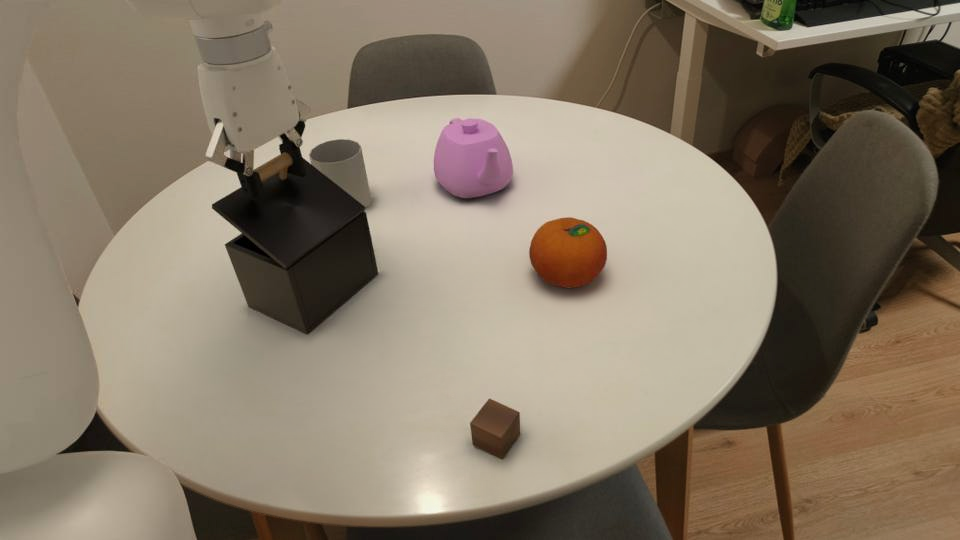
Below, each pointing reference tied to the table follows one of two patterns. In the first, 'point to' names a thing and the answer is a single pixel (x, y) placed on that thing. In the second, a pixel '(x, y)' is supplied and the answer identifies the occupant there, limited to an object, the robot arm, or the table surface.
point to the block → (495, 428)
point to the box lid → (290, 210)
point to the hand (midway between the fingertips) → (276, 185)
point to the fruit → (568, 252)
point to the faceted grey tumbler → (343, 167)
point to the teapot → (472, 158)
